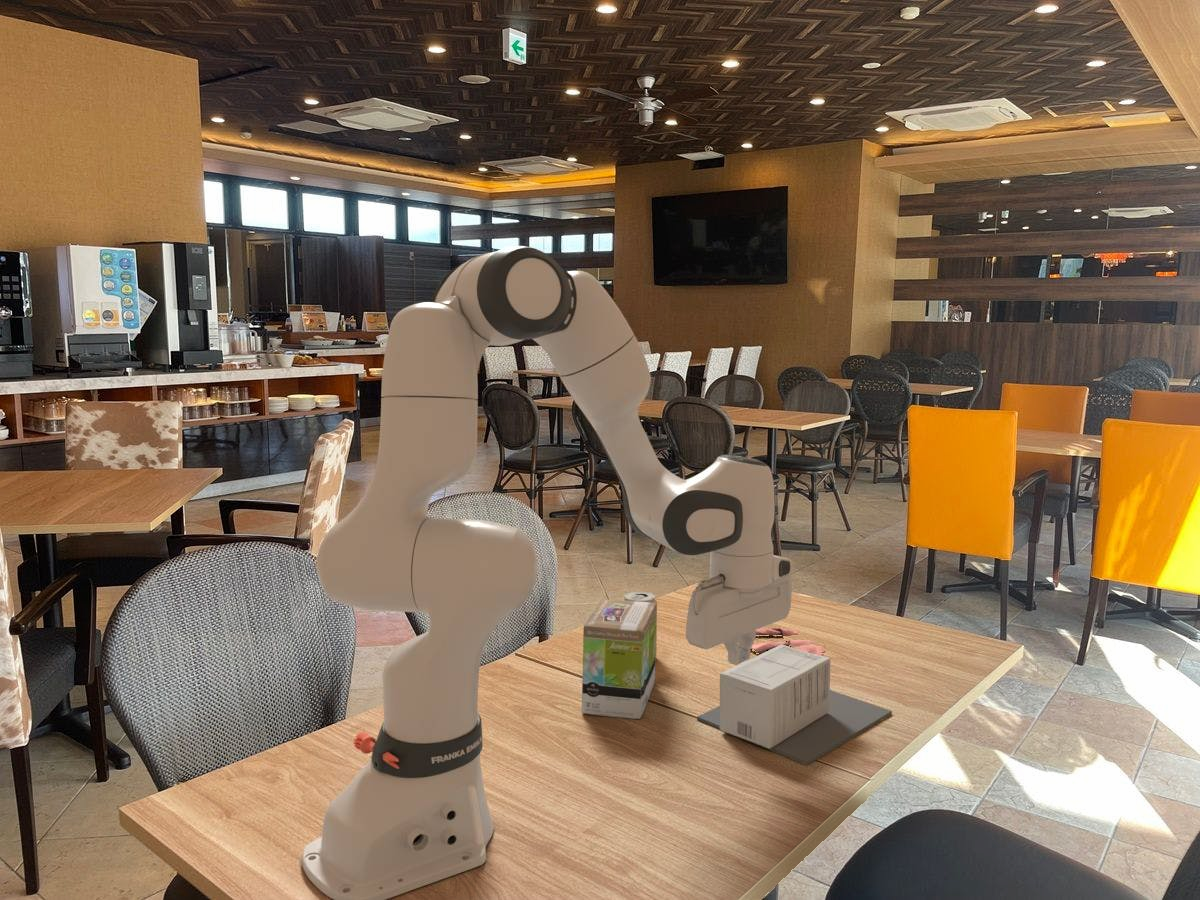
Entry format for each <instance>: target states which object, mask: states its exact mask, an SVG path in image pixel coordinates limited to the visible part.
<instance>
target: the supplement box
mask: <svg viewBox="0 0 1200 900" xmlns="http://www.w3.org/2000/svg"><path fill="white" fill-rule="evenodd" d="M830 686H831V657H827V656H823V655H822V656H820V655H816V654H812V653H808V652H805V651H801V650H798V649H795V648H792V647H788V646H785V645H782V644H781V645H779V646H777V647H775V648H773V649H771V650H768V651H764V652H761V653H759V655H758V654H757V656H756V655H755V656H754V657H752V658H750V659H749V660H747V661H745V662H742V663H740V664H738V665H735V666H733V667H731V668H729V669H727V670H725V671H723V672H721V673H719V706H720V729H719V730H720V731H723V732H724V733H727V734H730V735H732V736H734V737H738V738H740V739H742V738H743V739H742V740H745V741H747V740H748V742H749V741H751V742H750V743H752V742H753V743H752V744H754V743H756V744H755V745H757V744H759V745H761V746H764V747H766V748H769V749H771V748H772V747H774V746H775V745H777V744H779V743H780V742H782V741H783V740H785V739H787V738H788V737H790V736H791V735H793V734H795V733H796V732H798V731H799V730H801V729H803V728H804V727H806V726H807V725H809V724H811V723H812V722H814V721H815V720H817V719H819V718H820V717H822V716H823V715H825V714H827V713H828V712H829V695H830V690H831V687H830ZM759 745H758V746H759ZM761 746H760V747H761ZM764 747H763V748H764ZM766 748H765V749H766Z"/></svg>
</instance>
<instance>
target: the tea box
mask: <svg viewBox="0 0 1200 900" xmlns="http://www.w3.org/2000/svg"><path fill="white" fill-rule="evenodd" d="M623 600H624V599H623ZM623 600H620V599H607V598H601V600H600V601H599V603H598V604H597V606H596V607H595V609H594V610H593V612H592V613H591V615H590V616H589V617H588V619H587V620H586V622H585V623H584V625H583V633H582V634H583V637H582V639H583V641H582V645H583V648H582V678H581V679H582V680H581V681H582V685H581V687H582V688H581V689H582V690H581V691H582V693H581V714H585V715H591V716H592V715H594V716H603V717H612V718H621V719H622V718H623V719H632V720H634V719H635V720H640V719H641V718H642V716H643V714H644V711H645V708H646V705H647V704H648V701H649V698H650V696H651V693H652V690H653V688H654V684H655V681H656V657H657V652H656V619H658V603H657V604H656V603H650V602H637V601H623Z"/></svg>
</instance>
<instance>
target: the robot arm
mask: <svg viewBox="0 0 1200 900" xmlns="http://www.w3.org/2000/svg"><path fill="white" fill-rule="evenodd" d="M527 340H533V341H534V342H536V343H537V344H538V345H539V346H540V347H541V348H542V349H543V351H544V352H545V354H547V355H548V358H549V359H550V361H551V364H552V366H553V367H554V369H555V372H556V373H557V375H558V376H559V378H560V380H561V382H562V383H563V385H564V387H565V389H566V390H567V391H568V393H569V395H570V396H571V398H572V399H573V401H574V402H575V404H576V405H577V406H578V408H579V409H580V410H581V412H582V413H583V415H584V416H585V417H586V419H587V421H588V422H589V424H591V427H592V428H593V430H594V431H595V434H596V435H597V438H598V441H599V442H600V444H601V445H602V446H601V447H602V448H603V450H604V452H605V454H606V456H607V458H608V459H609V462H610V463H611V466H612V468H613V469H614V472H615V474H616V476H617V478H618V479H619V483H620V487H621V494H622V503H623V510H624V515H625V517H626V520H627V522H628V524H629V525H630V527H631V528H632V530H634V531H635V532H637V534H639V535H641V536H642V537H645V538H648V539H650V540H654V541H655V542H658V543H659V544H660V545H662V546H665V547H667V548H668V549H671V550H672V551H674V552H675V553H678V554H682V555H685V556H697V555H698V556H699V555H704V554H707V553H709V579H703V580H701V581H699V582H698V585H697V586H696V587H695V589H694V590H692V593H691V596H690V599H689V603H688V607H687V614H686V625H685V638H686V640H687V642H688V643H689V645H692V646H694V647H696V648H700V649H703V650H709V649H712V648H714V647H717V646H719V645H722V644H723V645H724V647H725V648H726V650H727V661H728V663H729V664H731V665H735V666H737V665H739V664H741V663H743V662H746V661H748V660H750V659H751V651H750V650H751V647H752V645H753V644H754V643H755V642H754V641H755V639H756V638H757V636H756V630H757V629H760V628H762V627H765V626H767V625H772V624H774V623H777V622H779V621H783V620H785V619H786V618H787V617H788V615H789V613H790V611H791V608H792V607H791V606H792V593H793V590H792V589H793V587H792V586H793V584H792V578H791V576H790V575H791V574H793V571H794V561H793V559H790V558H788V557H783V556H780V555H775V554H774V543H773V539H772V528H773V525H774V523H775V504H776V503H775V484H774V477H773V473H772V470H771V468H770V466H769V465H768V464H766V462H764V461H762V460H759V459H755V458H752V457H746V456H742V455H736V454H721V455H719V456H718V457H717V458H716V459H715V460H714V462H713V463H712V464H711V465H709V466H708V467H707V468H705V469H703V471H701V472H699V473H698V474H696V475H693V476H691V477H690V478H687V479H685V478H681V477H679V476H677V474H674V473H673V472H671V471H670V470H668V469H667V468H666V467H665V466H664V465H663V464H662V463H661V462H660V460H659V459H658V458H659V457H658V456H657V454H656V452H655V450H654V448H653V445H652V444H651V442H650V440H649V437H648V436H647V434H646V431H645V429H644V428H643V425H642V423H641V420H640V418H639V417H640V415H639V408H640V405H642V403H643V402H644V400H645V399H646V397H647V396H648V393H649V389H650V386H651V381H652V377H651V376H652V375H651V372H650V368H649V364H648V361H647V359H646V357H645V354H644V351H643V349H642V346H641V344H640V343H639V341H638V339H637V336H635V334H634V331H633V330H632V328H631V327H630V325H629V323H628V321H627V319H626V318H625V316H624V314H623V313H622V311H621V309H620V308H619V306H618V305H617V304H616V302H615V301H614V299H613V298H612V297H611V296H610V294H609V293H608V291H607V290H606V289H605V288H604V286H603V284H601V283H600V282H599V280H598V279H597V278H596V277H595V276H594V275H593V274H590V273H589V272H588V271H587V272H586V271H584V270H569V271H568V270H566V269H563V267H561V265H559V263H558V262H557V261H556V260H555V259H553V258H552V257H551V256H549V254H547V253H545V252H543V250H540V249H538V248H534V247H531V246H525V245H513V246H512V245H511V246H506V247H503V248H500V249H499V250H497V251H493V252H485V253H481V254H478V255H476V256H474V257H472V258H470V259H469V260H466V262H464V263H462V264H460V265H458V266H456V267H455V266H454V268H452V269H451V270H450V271H449V272H447V274H446V275H445V276H444V277H443V278H442V280H441V281H440V283H439V284H438V285H437V287H436V290H435V291H434V294H433V295H432V297H431V298H430V300H429V301H428V302H427V301H426V302H425V301H423V302H418V303H413V304H411V305H408V306H407V307H404V308H403V309H401V310H399V311H398V312H397V313H396V314H395V316H394V317H393V319H392V320H391V323H390V327H389V330H388V336H387V339H386V346H385V350H384V357H383V358H384V359H383V364H382V372H381V373H382V375H381V376H382V377H381V395H380V397H381V399H380V402H381V404H380V407H381V408H380V424H379V425H380V428H379V442H378V450H377V451H378V452H377V459H376V464H375V469H374V473H373V476H372V478H371V480H370V483H369V484H368V485H369V486H368V487H367V489H366V491H365V493H364V494H363V496H362V497H361V499H360V501H359V502H358V503H357V505H356V506H355V507H354V508H353V509H352V510H351V512H349V513H348V514H347V515H346V516H345V517H344V518H343V519H341V520H340V521H338V522H337V523H336V524H334V525H333V526H332V527H331V528H330V529H329V530H328V532H327V533H326V534H325V536H324V537H323V539H322V541H321V542H320V545H319V548H318V552H317V556H316V574H317V578H318V582H319V584H320V586H321V588H322V590H323V592H324V593H325V595H326V596H327V597H328V598H329V599H330V600H332V602H335V603H340V604H343V605H346V606H349V607H353V608H358V609H362V610H366V611H377V612H400V613H403V612H404V613H422V614H424V615H427V616H428V620H429V628H428V631H426V632H424V633H422V634H420V635H416V636H414V637H411V639H408V640H406V641H405V642H403V643H402V644H400V645H398V646H397V647H396V648H395V649H394V650H392V652H391V653H390V654H389V656H388V657H387V659H386V661H385V662H384V666H383V668H382V673H381V674H382V697H383V698H382V699H383V702H382V703H383V723H382V724H381V726H380V730H379V732H378V736H377V737H376V738H374V736H370V735H369V733H367V732H365V731H362V732H359V733H357V734H356V736H355V738H354V739H353V741H354V742H353V747H355V749H357V750H359V751H360V752H361V753H362V754H365V755H366V754H367V755H368V754H370V753H372V754H371V759H370V760H369V761H368V762H367V764H366V765H365V766H364V767H363V768H362V769H361V770H359V772H358V773H357V774H356V775H355V777H354V778H353V779H351V780H350V781H349V783H348V784H347V785H346V786H345V787H344V788H343V789H342V790H341V791H340V792H339V794H337V795H336V796H335V797H334V798H333V799H332V801H330V802H329V804H328V806H327V808H326V811H325V814H324V818H323V823H322V830H321V831H322V832H321V836H320V837H318V838H316V839H314V840H313V841H311V842H309V843H308V844H306V845H305V846H304V847H303V850H302V857H301V858H302V859H301V861H302V862H301V863H302V869H303V872H304V873H305V876H306V877H307V878H308V879H309V880H310V882H311V883H312V884H313V885H314V886H315V887H316V888H317V889H318V890H320V892H321V893H323V894H324V895H326V896H327V897H329V898H330V899H332V900H387V899H391V898H393V897H396V896H399V895H402V894H404V893H407V892H410V891H413V890H417V889H419V888H421V887H424V886H426V885H429V884H430V885H431V884H433V883H435V882H439V881H441V880H444V879H446V878H449V877H453V876H455V875H458V874H460V873H463V872H466V871H469V870H472V869H474V868H477V867H480V866H482V865H484V863H485V862H486V860H487V850H486V847H487V845H488V843H489V841H490V840H491V838H492V836H493V833H494V828H495V826H494V825H495V824H494V820H493V817H492V815H491V812H490V809H489V805H488V801H487V795H486V791H485V786H484V781H483V773H482V766H481V765H482V764H481V752H482V750H483V745H484V744H483V725H482V717H481V715H480V714H479V679H480V678H479V675H480V665H481V659H482V656H483V651H484V649H485V647H486V644H487V643H488V641H489V639H490V637H491V636H492V634H493V633H494V631H495V629H496V628H497V627H498V626H499V625H500V623H501V622H502V621H504V619H506V618H507V617H508V616H509V615H511V614H513V613H514V612H515V611H517V610H518V609H519V608H521V606H522V605H524V604H525V602H527V600H528V598H529V597H530V596H531V594H532V592H533V590H534V588H535V585H536V582H537V577H538V571H539V570H538V568H539V567H538V558H537V553H536V549H535V548H534V546H533V543H532V541H531V539H530V538H529V537H528V535H527V534H526V533H525V532H524V531H523V530H522V528H520V527H515V526H512V525H509V524H503V523H499V522H495V521H491V520H486V519H470V518H469V519H465V518H438V517H437V518H435V517H433V518H432V517H429V516H428V509H429V505H430V501H431V499H432V497H433V495H434V494H435V493H436V492H437V493H438V492H439V491H441V490H443V489H446V488H447V487H449V486H452V485H454V484H456V483H457V482H459V481H460V480H462V479H464V478H465V477H466V476H467V475H469V473H471V471H472V470H473V468H474V466H475V463H476V460H477V457H478V456H477V455H478V412H479V411H478V410H479V409H478V407H479V406H478V404H479V403H478V402H479V400H478V399H479V394H478V393H479V392H478V391H479V389H478V388H479V386H478V385H479V383H478V373H479V369H480V363H481V360H482V357H483V355H484V353H485V351H486V349H487V348H488V347H489V346H494V347H495V346H496V347H499V346H500V347H503V346H510V345H513V344H517V343H520V342H522V341H527Z"/></svg>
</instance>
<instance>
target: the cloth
mask: <svg viewBox="0 0 1200 900" xmlns="http://www.w3.org/2000/svg"><path fill="white" fill-rule="evenodd" d="M783 628H784V627H781V628H771V629H769V630H768V629H761V628H760V629H757V630H756V635H769V636H768V637H773V635H782V636H791V635H798V633H797V632H798V631H797V630H793V629H791V630H786V629H787V628H785V629H783ZM796 631H797V632H796ZM811 642H812V641H810V640H789V641H787V642H786V641H767V642H759V643H756V644H755V643H753V645H752V647H751V649H754V650H755V651H756V652H755V653H759V654H762V653H764V652H766V650H768V651H769V650H770V649H773V648H775V647H777V646H779V645H781V644H782V645H785V646H789V645H791V647H792V648H793V647H797V646H800V645H803V646H800V647H799V648H798V650H801V651H805V652H808V653H812V654H816V655H820V656H821V655H822V653H823V652H824V653H825V651H824V647H822V646H816V645H807V644H809V643H811ZM805 644H806V645H805ZM751 649H750V650H751ZM822 656H823V655H822Z"/></svg>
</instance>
